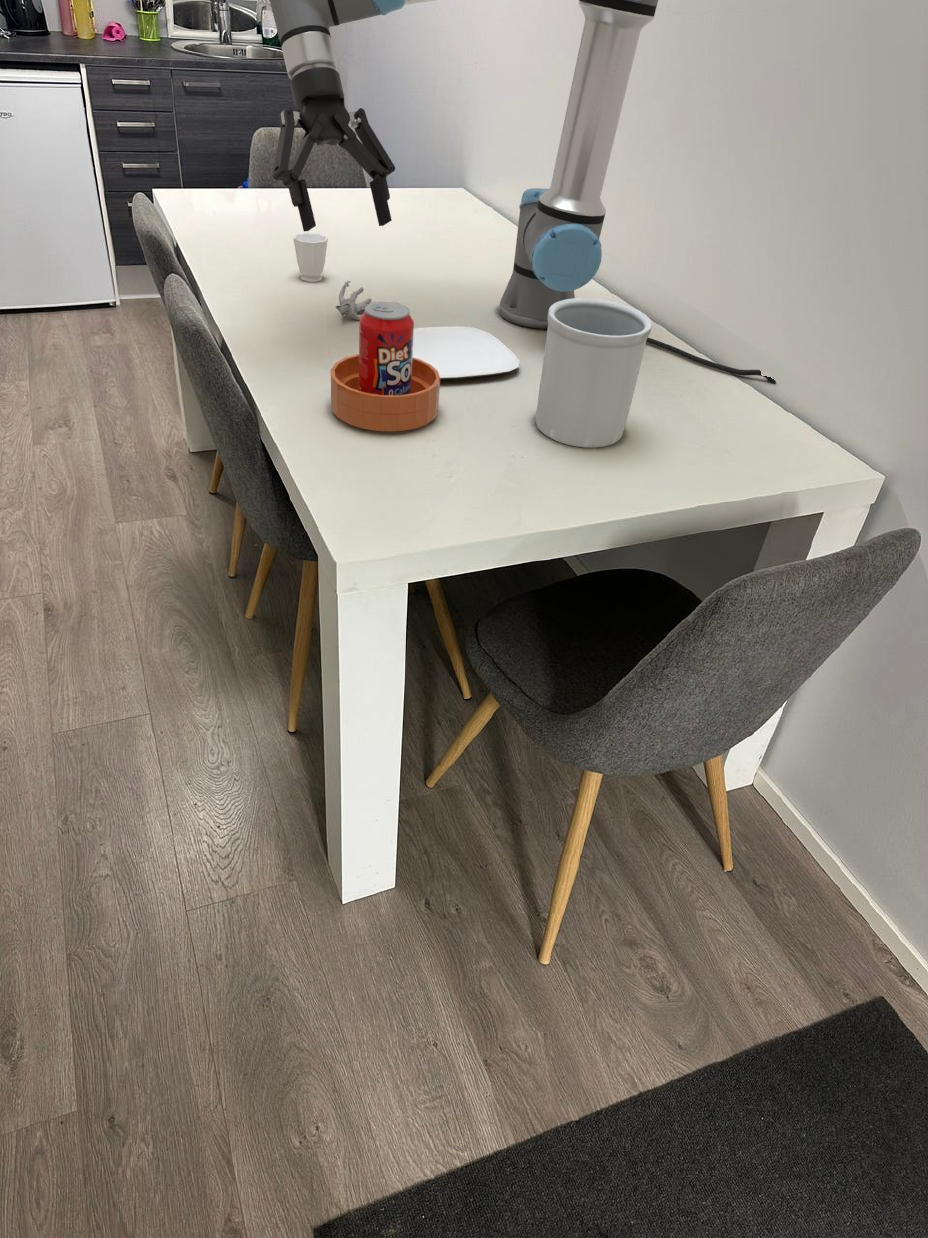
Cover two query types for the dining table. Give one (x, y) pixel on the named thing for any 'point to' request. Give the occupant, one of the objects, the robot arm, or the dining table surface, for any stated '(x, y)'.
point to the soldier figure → (351, 303)
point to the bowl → (384, 398)
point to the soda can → (385, 349)
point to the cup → (310, 255)
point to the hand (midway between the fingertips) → (348, 226)
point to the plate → (462, 352)
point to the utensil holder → (590, 370)
